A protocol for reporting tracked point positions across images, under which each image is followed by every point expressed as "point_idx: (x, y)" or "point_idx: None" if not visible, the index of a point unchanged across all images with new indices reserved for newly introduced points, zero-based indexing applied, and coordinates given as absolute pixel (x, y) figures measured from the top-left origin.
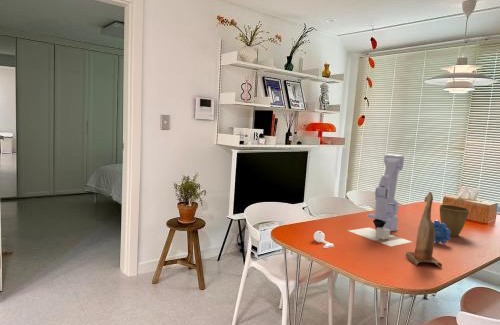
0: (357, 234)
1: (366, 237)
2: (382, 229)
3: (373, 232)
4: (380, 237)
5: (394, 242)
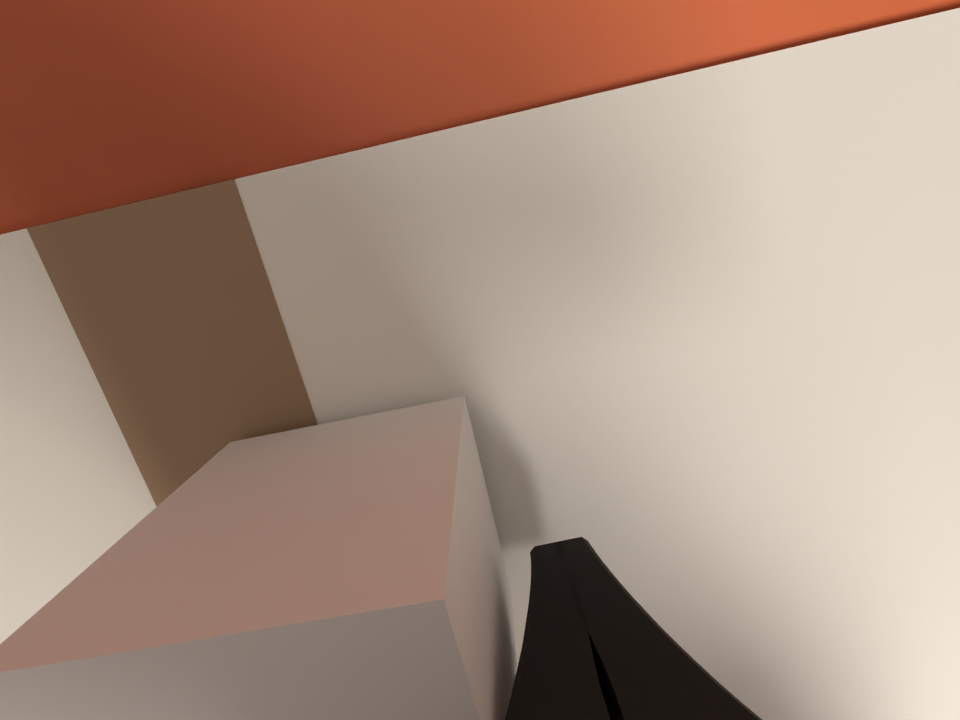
0: (830, 38)
1: (500, 119)
2: (143, 698)
3: (792, 596)
4: (297, 442)
5: (65, 584)
